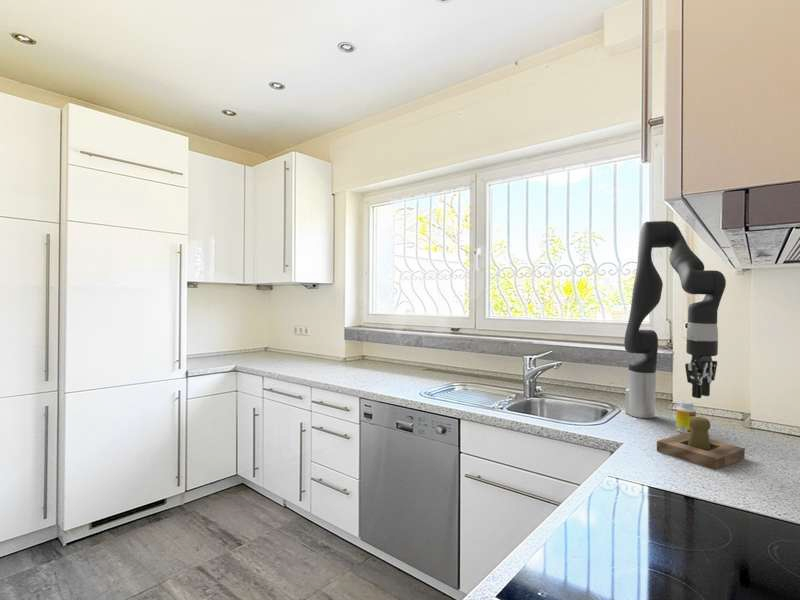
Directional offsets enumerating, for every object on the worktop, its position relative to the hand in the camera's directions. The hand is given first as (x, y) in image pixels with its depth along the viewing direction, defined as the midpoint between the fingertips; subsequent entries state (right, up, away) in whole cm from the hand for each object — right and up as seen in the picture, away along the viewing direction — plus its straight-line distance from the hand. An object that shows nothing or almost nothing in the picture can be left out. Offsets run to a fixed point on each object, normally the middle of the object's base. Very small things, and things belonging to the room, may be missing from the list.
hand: (700, 396), depth 126 cm
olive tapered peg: (0, -17, 0) cm, 17 cm away
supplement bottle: (+10, -17, +21) cm, 29 cm away
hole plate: (0, -17, 0) cm, 17 cm away
